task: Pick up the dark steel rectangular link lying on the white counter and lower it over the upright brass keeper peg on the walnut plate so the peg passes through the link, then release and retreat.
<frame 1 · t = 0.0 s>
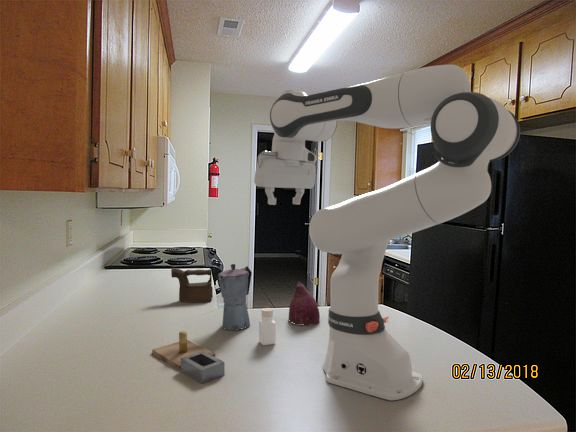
hand: (284, 204, 104), 39 cm above the countertop, tool pointing down, fingers open, 8 cm apart
link: (202, 372, 88), on the countertop
pepper shaker: (267, 343, 107), on the countertop
vegetable: (304, 321, 126), on the countertop
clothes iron: (194, 300, 153), on the countertop
keeper: (183, 355, 98), on the countertop
moka pot: (236, 326, 121), on the countertop
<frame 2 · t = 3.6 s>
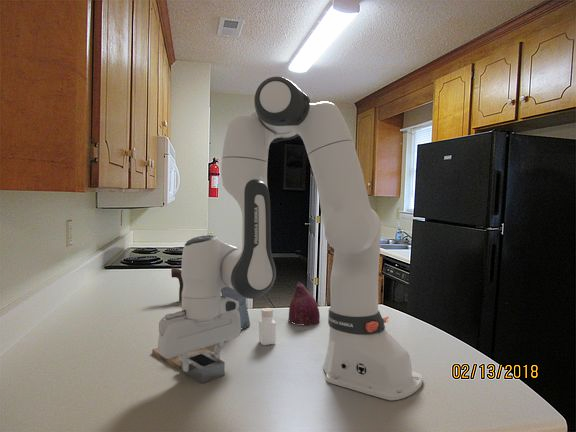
hand: (202, 365, 88), 2 cm above the countertop, tool pointing down, fingers closed on link, 6 cm apart
link: (202, 372, 88), on the countertop, touching gripper
everything else where it was.
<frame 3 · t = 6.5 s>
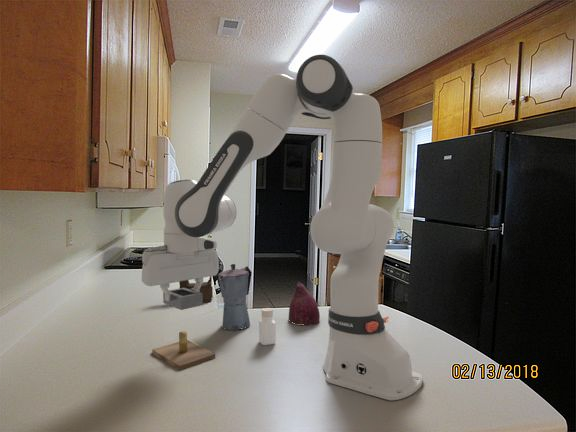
hand: (182, 297, 97), 15 cm above the countertop, tool pointing down, fingers closed on link, 6 cm apart
link: (182, 304, 97), point 13 cm above the countertop, touching gripper
everything else where it was.
when the fingers open (4 cm above the countertop, at t = 9.1 s): link stays where it is, resting on keeper.
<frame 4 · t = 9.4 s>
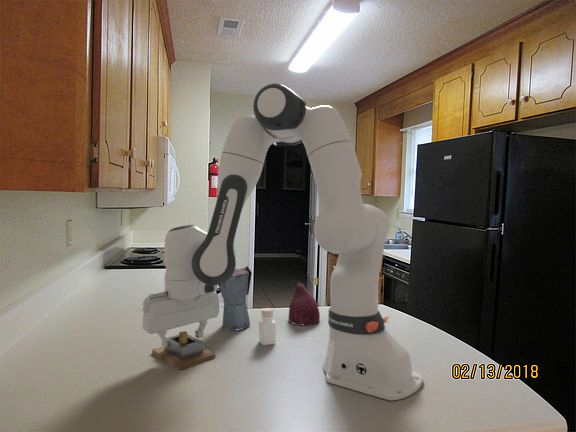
hand: (183, 341, 98), 4 cm above the countertop, tool pointing down, fingers open, 8 cm apart
link: (183, 351, 98), point 1 cm above the countertop, touching keeper
everything else where it was.
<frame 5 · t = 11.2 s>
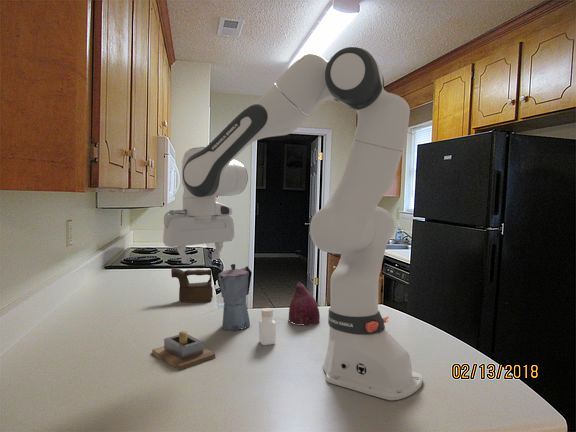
hand: (201, 260, 102), 24 cm above the countertop, tool pointing down, fingers open, 8 cm apart
nothing on the countertop moved.
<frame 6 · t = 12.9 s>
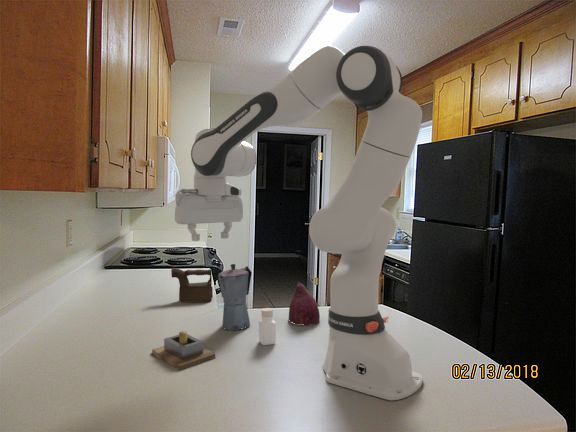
hand: (210, 239, 105), 29 cm above the countertop, tool pointing down, fingers open, 8 cm apart
nothing on the countertop moved.
at the end: link 0.1 cm off-centre on the keeper, point 1.0 cm above the keeper's base; the gripper is holding nothing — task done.
